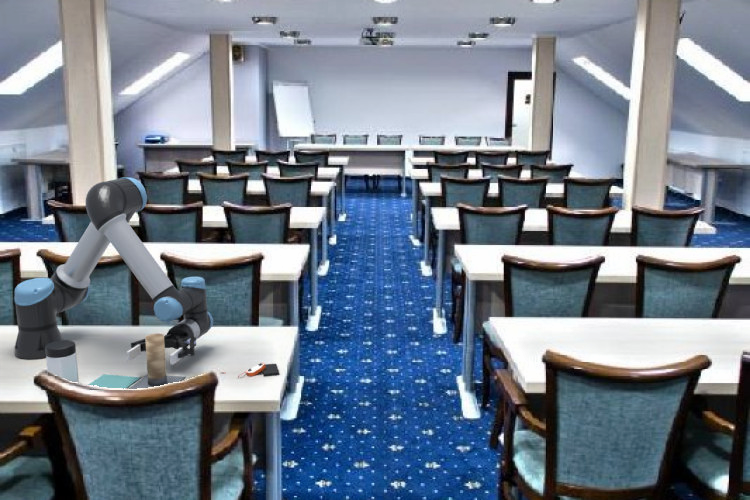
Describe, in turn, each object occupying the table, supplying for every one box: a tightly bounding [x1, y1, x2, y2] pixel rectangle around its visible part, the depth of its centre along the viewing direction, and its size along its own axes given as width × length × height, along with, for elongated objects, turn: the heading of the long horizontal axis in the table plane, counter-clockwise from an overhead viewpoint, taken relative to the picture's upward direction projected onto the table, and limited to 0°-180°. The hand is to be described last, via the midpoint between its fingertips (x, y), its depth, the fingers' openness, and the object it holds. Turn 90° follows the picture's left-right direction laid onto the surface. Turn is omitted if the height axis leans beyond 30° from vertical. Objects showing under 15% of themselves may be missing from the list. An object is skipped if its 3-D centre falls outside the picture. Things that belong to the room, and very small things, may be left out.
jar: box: [45, 339, 79, 383], centre depth 221 cm, size 9×8×12 cm
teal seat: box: [87, 373, 141, 389], centre depth 222 cm, size 12×12×1 cm
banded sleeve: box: [144, 333, 167, 386], centre depth 221 cm, size 5×5×14 cm
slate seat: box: [128, 373, 186, 389], centre depth 222 cm, size 12×12×1 cm
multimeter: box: [221, 362, 280, 379], centre depth 228 cm, size 18×12×3 cm, turn 100°
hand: (149, 358), depth 217 cm, fingers open, 13 cm apart
